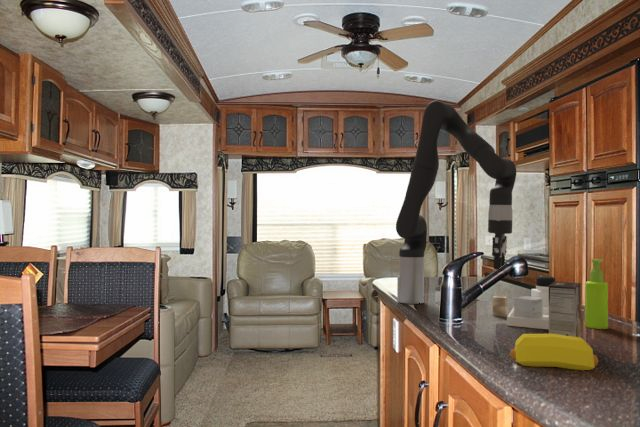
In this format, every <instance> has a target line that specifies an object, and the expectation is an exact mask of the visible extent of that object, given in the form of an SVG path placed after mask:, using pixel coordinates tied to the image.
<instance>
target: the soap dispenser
mask: <svg viewBox="0 0 640 427" xmlns="http://www.w3.org/2000/svg"><path fill="white" fill-rule="evenodd" d="M591 262H592V263H593V264H592V265H593V268H592V269H590V271H589V272H590V273H589V280H587V281H585V283H584V285H585V286H584V287H585V288H584V289H585V292H584V295H585V296H584V298H585V300H584V301H585V302H584V304H585V305H584V306H585V312H584V314H585V316H584V317H585V318H584V319H585V320H584V325H585V327H586V328H589V329H595V330H605V329H606V330H607V329H609V283H608V282H605V281H604V271H603V270H602V269H601V263H602V262H604V259H602V258H601V259H600V258H593V259H592V260H591Z"/></svg>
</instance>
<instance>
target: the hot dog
mask: <svg viewBox="0 0 640 427" xmlns="http://www.w3.org/2000/svg"><path fill="white" fill-rule="evenodd" d="M509 355H510V359H511V360H513V361H514V362H515V361H516V362H517V363H518V364H519V365H522V366H524V367H537V368H538V367H540V368H541V367H545V368H546V367H548V368H549V367H550V368H551V367H552V368H553V367H556V368H560V369H568V370H577V371H584V370H588V371H591V370H593V369H595V367H597V366H598V363H599V359H598V356H597V355H596V354H594V349H593V348H592V347H591V346H590V345H589V343H588V342H586V340H585V339H583V337H581V338H580V337H573V336H566V335H558V334H549V333H522V334H521V335H520V336H519V337H518V338H517V339H516V341H515V344H514V348H512V349H511V350H510V353H509Z"/></svg>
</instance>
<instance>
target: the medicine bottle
mask: <svg viewBox="0 0 640 427" xmlns="http://www.w3.org/2000/svg"><path fill="white" fill-rule="evenodd" d="M553 282H556V278H555V277H553V276H551V275H550V276H549V275H539V276H536V278H535V288H531V290H530V291H531V294H530V295H531V296H530V297H537V298H543V308H549V285H550V284H552V283H553Z"/></svg>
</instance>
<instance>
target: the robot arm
mask: <svg viewBox="0 0 640 427" xmlns="http://www.w3.org/2000/svg"><path fill="white" fill-rule="evenodd" d="M441 130H444V131H445V132H447V133H449V134H450V135H451V136H453V137H454V139H456V140H457V142H458V143H459V144H460V147H462V148H463V150H464V151H465V153H467V155H468V156H470V157H471V158H472V159H473V160H474V161H476V162H477V163H478V165H479V166H480V168H481V169H482V170H483V172H484V173H485V174H486V175H487V176H488V177H490V178H491V179H493V180H495V184H494V186H493V187H492V188H491V189H490V191H489V200H488V201H489V202H488V203H489V206H488V212H487V213H488V214H487V215H488V217H487V220H488V222H487V232H488V233H489V234H494V236H493V237H492V246H491V247H492V250H491V251H492V253H491V256H492V257H493V269H494V270H500V269H499V268H500V267H501V266H503V265H504V264H506V255H507V252H508V251H507V245H508V244H507V243H508V236H507V235H508V234H509V235H510V234H512V233H513V212H514V211H513V190H514V187H515V183H516V178H517V166H516V164H515V162H514V161H512V160H511V159H508V158H503V157H500V156H499V155H498V154H497V153H496V150H495V149H494V148H495V147H493V146H492V145H491V144H490V143H488V141H486V139H485V138H483V137H482V136H480V135H479V134H478V133H477V132H476V131H475V130H474V129H472V128H471V126H469V125H468V124H467V122H465V120H463V118H462V116H460V114H459V113H458V112H457V110H456V109H455V108H454V107H453V105H451V104H449V103H446V102H443V101H439V100H433V101H431V102H429V103H428V104H427V106H426V107H425V109H424V111H423V116H422V122H421V129H420V134H419V140H418V145H417V148H416V152H415V157H414V160H413V164H412V168H411V172H410V176H409V181H408V184H407V187H406V188H407V189H406V192H405V196H404V200H403V202H402V205H401V209H400V211H399V213H398V216H397V219H396V222H395V223H396V224H395V230H396V233H397V235H398V236H399V237H400V238H401V239H404V240H403V241H404V242H403V245H402V246H401V248H400V249H399V255H398V256H399V258H398V259H399V263H398V264H399V266H398V267H399V268H398V269H399V270H398V271H399V272H398V273H399V275H398V276H397V283H396V284H397V295H396V296H397V300H396V301H397V302H396V303H401V304H410V305H417V304H418V305H420V304H424V303H425V251H426V250H427V240H428V239H427V238H428V236H427V235H428V226H427V221H426V219H425V218H424V217H423V216H422V215H421V214H420V213H421V209H422V206H423V204H424V201H425V200H426V198H427V196H428V195H429V193H430V192H431V190H432V188H433V186H434V184H435V182H436V178H437V175H438V173H439V172H438V171H439V164H440V159H439V151H438V140H439V134H440V132H441ZM505 234H506V235H505ZM501 268H502V267H501ZM419 303H420V304H419Z"/></svg>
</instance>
